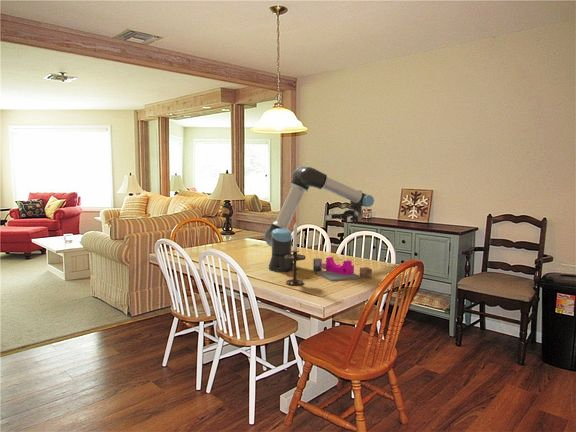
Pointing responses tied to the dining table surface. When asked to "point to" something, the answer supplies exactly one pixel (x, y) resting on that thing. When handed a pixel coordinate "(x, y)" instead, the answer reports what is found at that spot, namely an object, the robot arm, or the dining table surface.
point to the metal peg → (317, 264)
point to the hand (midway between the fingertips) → (337, 218)
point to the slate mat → (337, 276)
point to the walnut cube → (365, 272)
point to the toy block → (339, 266)
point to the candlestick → (294, 259)
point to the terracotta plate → (323, 264)
